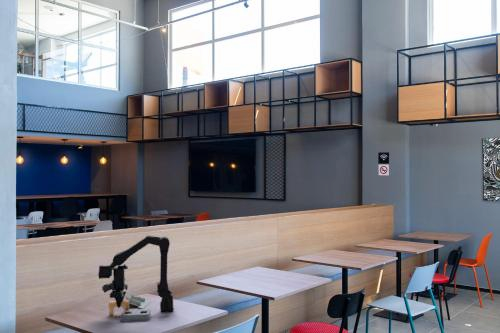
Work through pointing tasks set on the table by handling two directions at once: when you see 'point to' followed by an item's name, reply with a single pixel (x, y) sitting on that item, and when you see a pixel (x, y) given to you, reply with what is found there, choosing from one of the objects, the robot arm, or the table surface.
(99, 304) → the table surface
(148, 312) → the slotted plate
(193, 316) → the table surface
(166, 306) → the robot arm
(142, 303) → the metal bracket
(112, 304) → the clip
